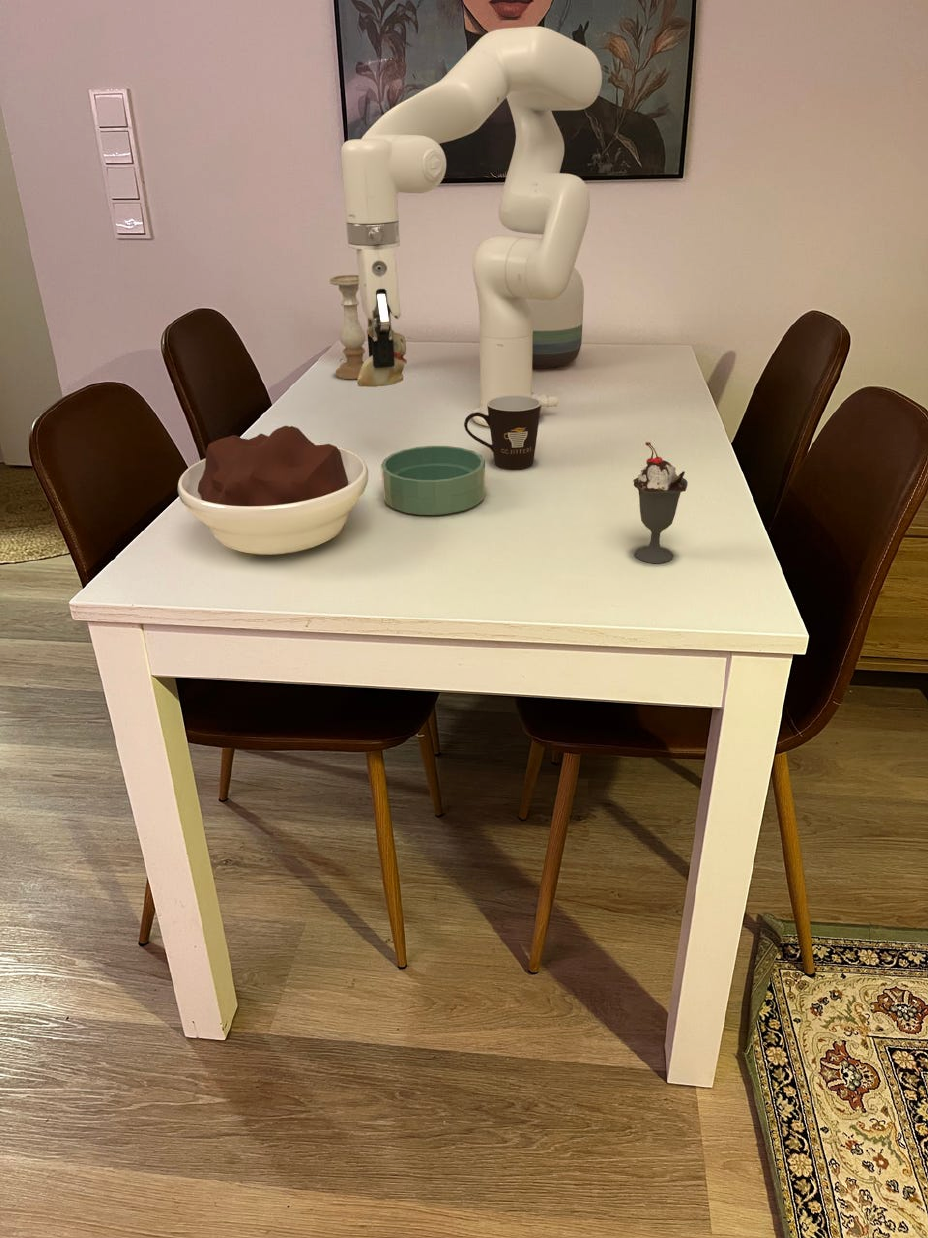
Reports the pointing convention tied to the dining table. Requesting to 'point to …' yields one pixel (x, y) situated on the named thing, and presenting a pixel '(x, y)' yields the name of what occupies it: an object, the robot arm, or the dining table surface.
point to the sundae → (658, 504)
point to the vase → (558, 326)
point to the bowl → (433, 480)
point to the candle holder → (350, 327)
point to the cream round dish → (273, 491)
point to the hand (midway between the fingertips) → (381, 361)
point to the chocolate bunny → (386, 374)
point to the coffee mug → (511, 430)
